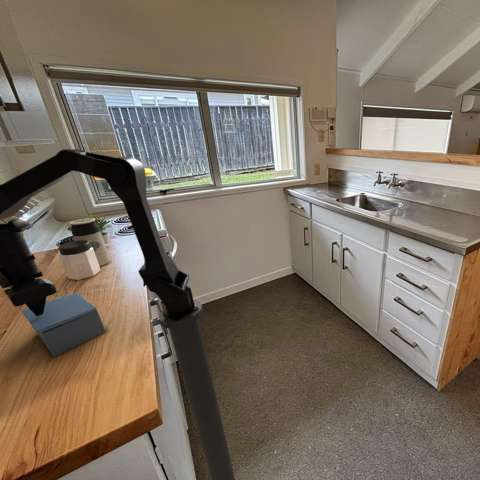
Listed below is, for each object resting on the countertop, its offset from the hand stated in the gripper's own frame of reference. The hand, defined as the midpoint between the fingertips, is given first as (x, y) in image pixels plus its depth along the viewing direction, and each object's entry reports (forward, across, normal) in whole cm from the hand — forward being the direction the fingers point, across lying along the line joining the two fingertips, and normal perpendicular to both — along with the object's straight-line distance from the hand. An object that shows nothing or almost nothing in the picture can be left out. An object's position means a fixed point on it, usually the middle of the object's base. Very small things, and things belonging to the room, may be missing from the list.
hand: (39, 314), depth 59 cm
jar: (+8, -37, +17) cm, 41 cm away
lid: (+1, 0, +3) cm, 3 cm away
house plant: (+8, -63, +31) cm, 71 cm away
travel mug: (+8, -44, +23) cm, 50 cm away
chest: (+8, 0, +4) cm, 8 cm away
